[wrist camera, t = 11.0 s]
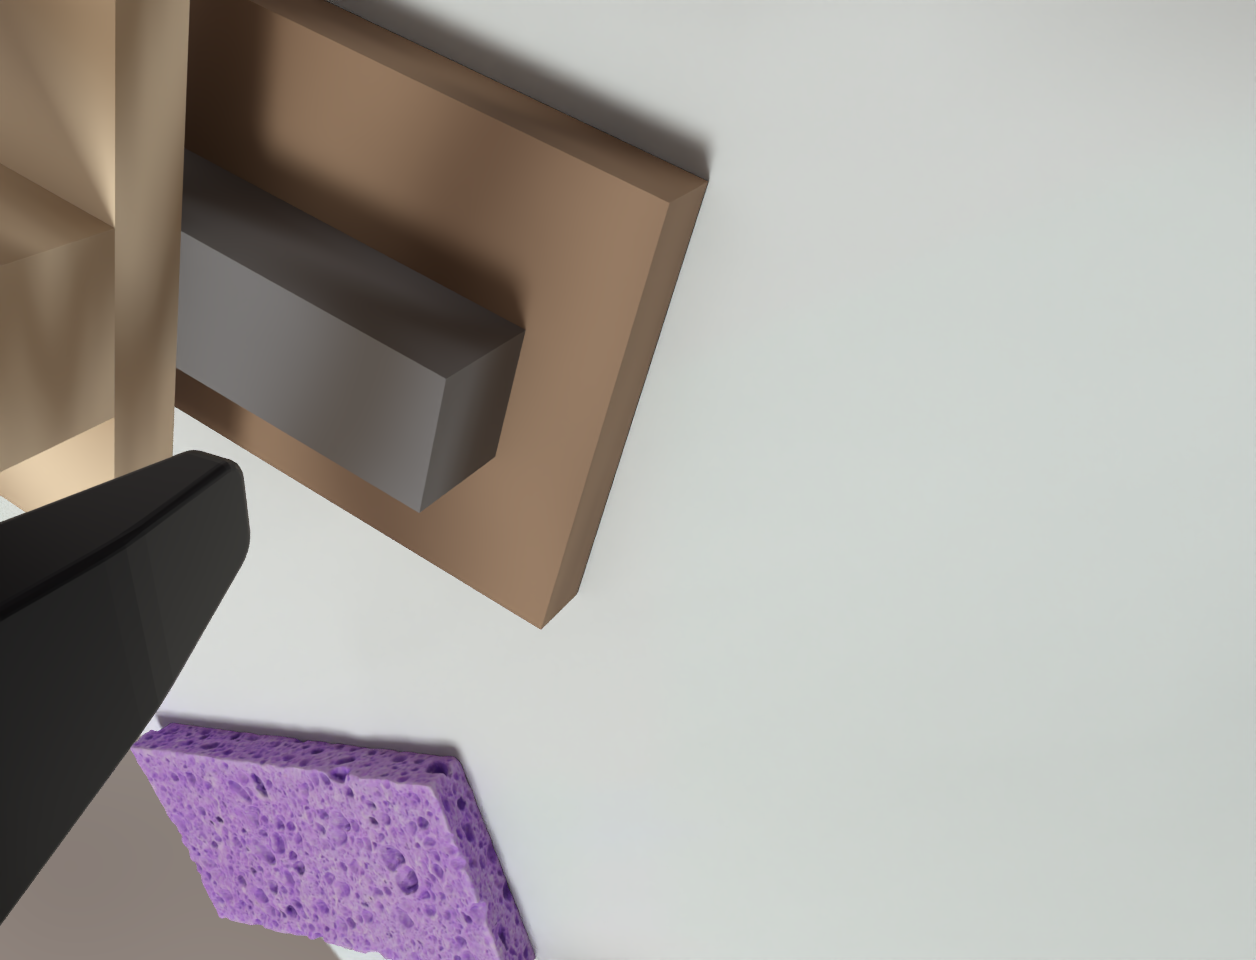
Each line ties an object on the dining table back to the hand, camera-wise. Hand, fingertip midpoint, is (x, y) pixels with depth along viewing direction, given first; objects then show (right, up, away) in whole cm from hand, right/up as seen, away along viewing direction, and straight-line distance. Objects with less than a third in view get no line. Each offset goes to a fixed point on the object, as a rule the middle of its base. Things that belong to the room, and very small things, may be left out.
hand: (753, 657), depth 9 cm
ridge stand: (-9, +7, +17) cm, 21 cm away
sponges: (-9, -9, +27) cm, 30 cm away
